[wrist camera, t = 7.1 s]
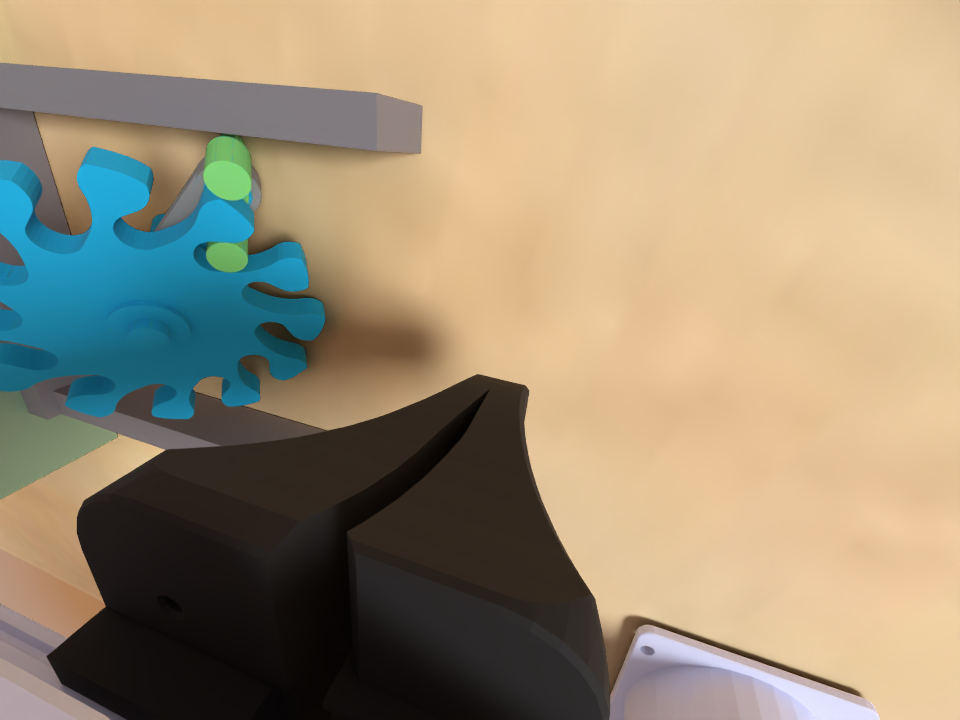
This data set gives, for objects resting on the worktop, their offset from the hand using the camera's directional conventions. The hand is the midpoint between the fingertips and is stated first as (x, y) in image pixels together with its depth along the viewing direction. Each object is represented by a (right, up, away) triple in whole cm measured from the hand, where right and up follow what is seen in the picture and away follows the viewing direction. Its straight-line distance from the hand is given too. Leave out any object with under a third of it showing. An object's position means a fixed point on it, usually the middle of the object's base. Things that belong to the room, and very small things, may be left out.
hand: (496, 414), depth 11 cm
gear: (-9, +5, +6) cm, 12 cm away
